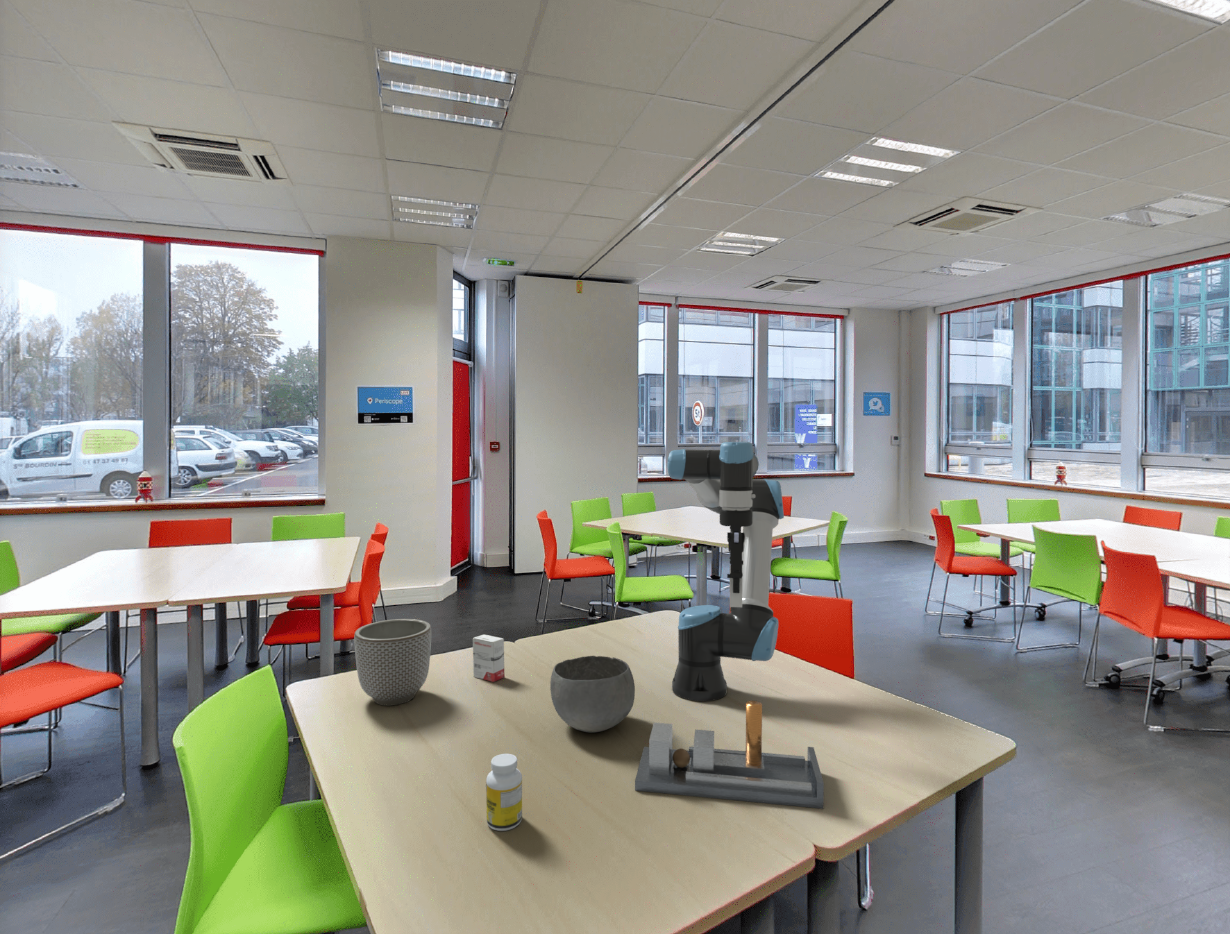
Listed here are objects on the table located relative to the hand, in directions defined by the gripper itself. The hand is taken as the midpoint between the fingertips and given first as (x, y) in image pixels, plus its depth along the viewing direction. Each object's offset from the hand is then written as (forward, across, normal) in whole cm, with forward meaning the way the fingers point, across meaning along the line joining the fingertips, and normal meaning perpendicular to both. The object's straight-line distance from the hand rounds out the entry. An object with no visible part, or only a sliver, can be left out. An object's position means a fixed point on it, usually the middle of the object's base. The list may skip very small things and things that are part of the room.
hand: (735, 599), depth 145 cm
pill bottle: (+33, -41, +42) cm, 67 cm away
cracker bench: (+33, -19, +2) cm, 38 cm away
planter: (+33, +7, +91) cm, 97 cm away
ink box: (+33, +26, +71) cm, 82 cm away
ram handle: (+30, -19, +1) cm, 36 cm away
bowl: (+33, 0, +34) cm, 47 cm away
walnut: (+31, -19, +11) cm, 38 cm away
